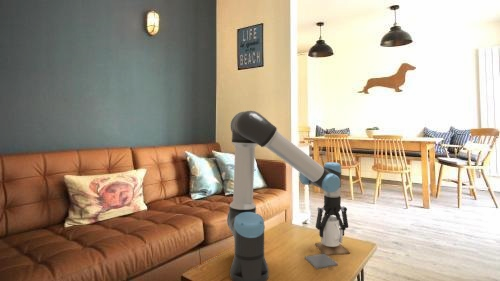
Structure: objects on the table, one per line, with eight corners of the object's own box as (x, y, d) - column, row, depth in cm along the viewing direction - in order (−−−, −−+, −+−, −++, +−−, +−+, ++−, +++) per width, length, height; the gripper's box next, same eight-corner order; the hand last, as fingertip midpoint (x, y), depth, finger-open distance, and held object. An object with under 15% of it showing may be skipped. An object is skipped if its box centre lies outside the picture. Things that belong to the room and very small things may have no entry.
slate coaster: (316, 269, 117) (316, 267, 117) (304, 258, 126) (304, 256, 126) (337, 265, 120) (337, 263, 120) (324, 254, 129) (324, 253, 129)
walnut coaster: (324, 255, 128) (324, 253, 128) (314, 244, 140) (314, 243, 140) (349, 253, 130) (349, 252, 130) (337, 243, 142) (337, 241, 142)
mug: (346, 248, 130) (347, 223, 130) (329, 250, 129) (329, 224, 128) (334, 238, 142) (334, 215, 141) (318, 240, 140) (318, 216, 139)
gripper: (314, 198, 129) (313, 247, 130) (357, 196, 132) (356, 244, 133) (308, 194, 136) (307, 241, 137) (349, 192, 139) (348, 238, 140)
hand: (331, 242), depth 135 cm, fingers closed on mug, 8 cm apart
